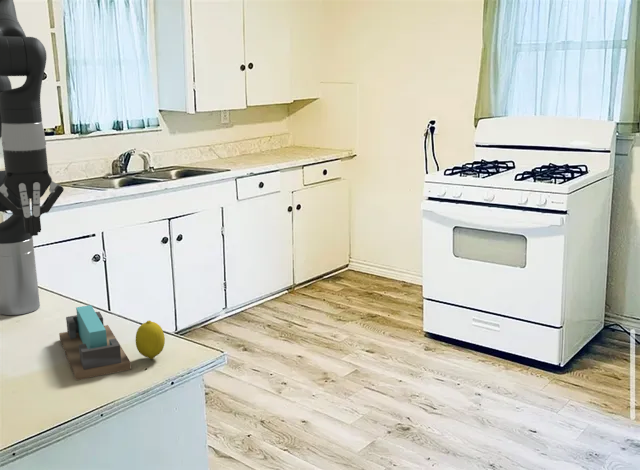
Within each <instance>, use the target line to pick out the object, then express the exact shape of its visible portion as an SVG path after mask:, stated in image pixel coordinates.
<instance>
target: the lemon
mask: <svg viewBox="0 0 640 470" xmlns="http://www.w3.org/2000/svg"><path fill="white" fill-rule="evenodd" d="M165 342H166V339H165V333H164V331H163V327H161V325H160V324H158V323H157V322H155V321H151V320H147V321H146V322H143V323H142V324H141V325H139V327H138V328H137V330H136V333H135V346H136V349H137V351H138V353H139V354H140V355H141V356H143V357H145V358H148V359H149V360H153V359H154V358H155V357H156V356H159V355H160V354H161V353H162V352H163V350H164V347H165Z"/></svg>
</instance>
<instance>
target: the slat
mask: <svg viewBox="0 0 640 470" xmlns="http://www.w3.org/2000/svg"><path fill="white" fill-rule="evenodd" d="M75 308H76V315H77V321H78V331H79V336H80V338H81V340H82V342H83V344H86V346H87V348H88V349H92V348H97V347H103V346H107V337H106V329H105V328H104V326H105V325H104V326H103V324H104V323H103V324H102V323H101V321H100V319H99V317H98V316H97V314H96V312H97V311H95V309H94V307H93V305H92V304H89V305H82V306H78V307H77V306H76V307H75Z"/></svg>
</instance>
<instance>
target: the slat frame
mask: <svg viewBox="0 0 640 470" xmlns="http://www.w3.org/2000/svg"><path fill="white" fill-rule="evenodd" d="M95 312H96V314H97V316H98V317H99V319H100V321H101V323H102V324H103V326H104V328H105V329H106V337H107V346H103V347H97V348H92V349H88V348H87V346H86V344H83V342H82V340H81V338H80V336H79V331H78V321H77V314H76V315H71V316H66V317H65V320H66V322H65V323H66V329H67V330H66V331H65V332H64V331H63V332H59V334H58V335H59V341H60V344H61V345H62V348H63V350H64V354H65V356H66V358H67V362H68V365H69V366H70V369H71V371H72V374H73V376H74V379H75V381H78V380H80V381H81V380H83V379H90V378H95V377H98V376H99V377H100V376H104V375H110V374H113V373H114V374H115V373H120V372H124V371H130V370H132V366H131V364H132V363H131V361H130V359H129V358H128V356H127V354H126V352H125V351H124V349H123V348H122V345H121V344H120V342H119V341H118V339H117V337H116V335H115V334H114V332H113V331H112V330H111V328H110V326H109V325H108V324H106V325H105V324H104V318H103V315H102V314H101V312H100V311H95Z"/></svg>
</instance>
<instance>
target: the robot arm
mask: <svg viewBox="0 0 640 470" xmlns="http://www.w3.org/2000/svg"><path fill="white" fill-rule="evenodd" d="M26 35H27V34H26V33H25V31H24V29H23V27H22V26H21V24H20V22H19V20H18V16H17V11H16V7H15V2H14V0H0V139H1V145H2V152H3V153H2V154H3V162H4V164H3V165H4V170H0V212H6V211H7V212H8V211H10V212H11V213H12V214H11V215H10V216H8V218H7V219H5V220H4V221H2V222H0V315H5V316H16V315H17V316H18V315H23V314H28V313H33V312H35V311H37V310H38V309H40V306H41V304H40V303H41V302H40V294H39V293H40V292H39V284H38V283H39V282H38V274H37V266H36V264H37V263H36V256H35V255H36V254H35V248H34V239H33V238H34V236H35V237H36V236H39V233H41V231H42V224H41V216H42V215H43V214H45V213H47V214H48V213H49V211H50V210H51V209H52V207H54V204H55V203H56V202H57V200H58V199H59V197H60V196H61V195H62V193H63V192H64V187H63V186H62V185H61V184H59V183H56V182H55V181H53V178H52V176H51V174H50V173H49V167H48V158H47V157H48V156H47V146H46V145H47V141H46V134H45V130H44V126H43V125H44V124H43V118H42V117H43V116H42V108H41V107H42V105H41V94H42V93H41V92H42V91H41V90H42V85H43V84H42V83H43V78H44V74H45V70H46V69H45V68H46V64H47V51H46V48H45V46H44V44H43V43H42V42H41V40H40V39H38V38H37V37H33V36H26ZM9 77H26V79H25V81H24V83H23V84H22V85H21V86H18V87H15V88H12V83H11V80H10V78H9ZM48 188H49V195H48V196H47V198H46V199H45V200H44V201H43V202H42V205H41V198H42V197H43V196H44V194H45V193H46V191H47V190H48ZM30 199H31V200H30Z"/></svg>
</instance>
